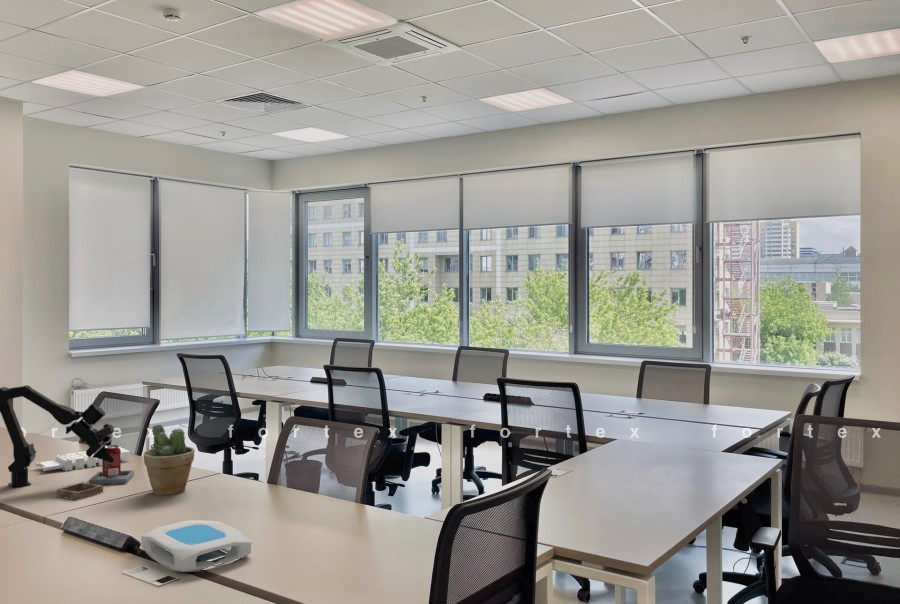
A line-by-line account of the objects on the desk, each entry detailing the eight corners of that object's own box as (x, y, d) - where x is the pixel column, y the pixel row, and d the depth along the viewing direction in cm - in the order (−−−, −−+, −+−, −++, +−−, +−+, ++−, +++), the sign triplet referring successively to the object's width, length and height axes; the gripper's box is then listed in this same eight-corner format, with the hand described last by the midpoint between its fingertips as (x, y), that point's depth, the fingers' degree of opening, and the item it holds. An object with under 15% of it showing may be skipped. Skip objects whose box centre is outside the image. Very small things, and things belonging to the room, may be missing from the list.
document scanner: (207, 535, 231) (207, 515, 231) (252, 558, 212) (252, 536, 212) (140, 551, 217) (140, 530, 217) (182, 578, 197) (182, 555, 197)
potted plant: (203, 485, 288) (203, 422, 288) (181, 499, 270) (181, 431, 269) (158, 484, 290) (158, 421, 289) (133, 497, 271) (133, 430, 271)
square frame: (56, 496, 272) (56, 489, 272) (82, 489, 283) (82, 482, 283) (78, 499, 268) (78, 493, 268) (103, 492, 278) (103, 485, 278)
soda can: (120, 477, 294) (120, 447, 294) (101, 479, 291) (102, 448, 291) (120, 473, 300) (120, 444, 300) (102, 475, 297) (102, 445, 297)
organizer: (130, 451, 329) (44, 463, 304) (130, 461, 329) (44, 475, 304) (118, 446, 338) (34, 458, 314) (118, 456, 338) (34, 469, 314)
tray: (88, 485, 288) (88, 480, 287) (97, 476, 301) (97, 471, 301) (126, 483, 290) (126, 478, 290) (134, 475, 304) (134, 470, 304)
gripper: (95, 422, 285) (125, 450, 288) (107, 414, 304) (135, 440, 306) (73, 443, 284) (103, 470, 286) (86, 434, 302) (114, 459, 305)
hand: (115, 459), depth 296 cm, fingers closed on soda can, 7 cm apart
